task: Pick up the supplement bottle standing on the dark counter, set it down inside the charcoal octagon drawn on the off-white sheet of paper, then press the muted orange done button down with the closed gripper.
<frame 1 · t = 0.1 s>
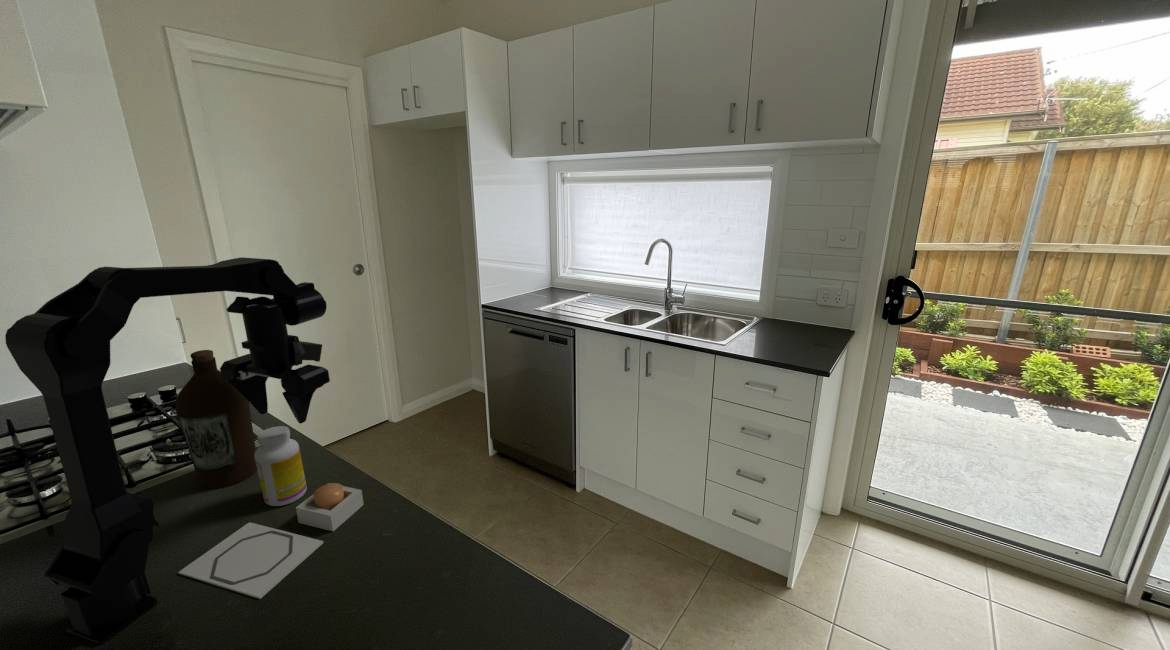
hand: (283, 417, 83), 15 cm above the countertop, tool pointing down, fingers open, 9 cm apart
supplement bottle: (286, 496, 85), on the countertop
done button: (329, 497, 80), point 3 cm above the countertop, slide at 0.0 cm
olive oil: (229, 475, 91), on the countertop
button housing: (332, 513, 81), on the countertop
paper sheet: (254, 557, 71), on the countertop
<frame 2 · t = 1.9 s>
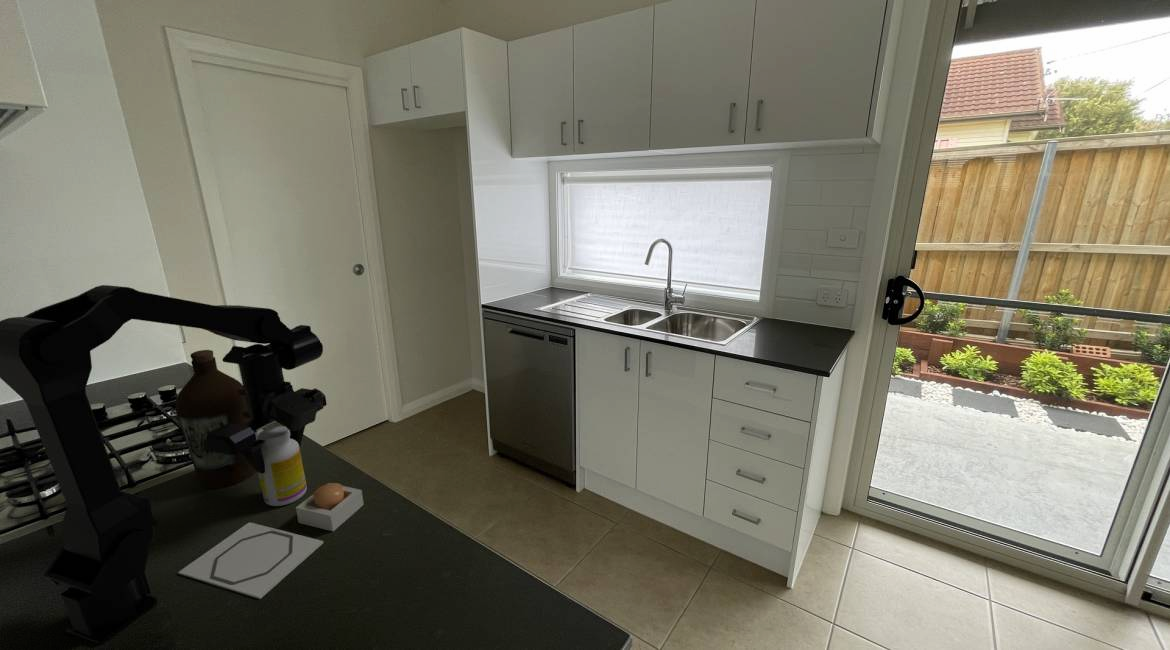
hand: (279, 461, 83), 7 cm above the countertop, tool pointing down, fingers closed on supplement bottle, 7 cm apart
supplement bottle: (286, 496, 85), on the countertop, touching gripper
everything else where it was.
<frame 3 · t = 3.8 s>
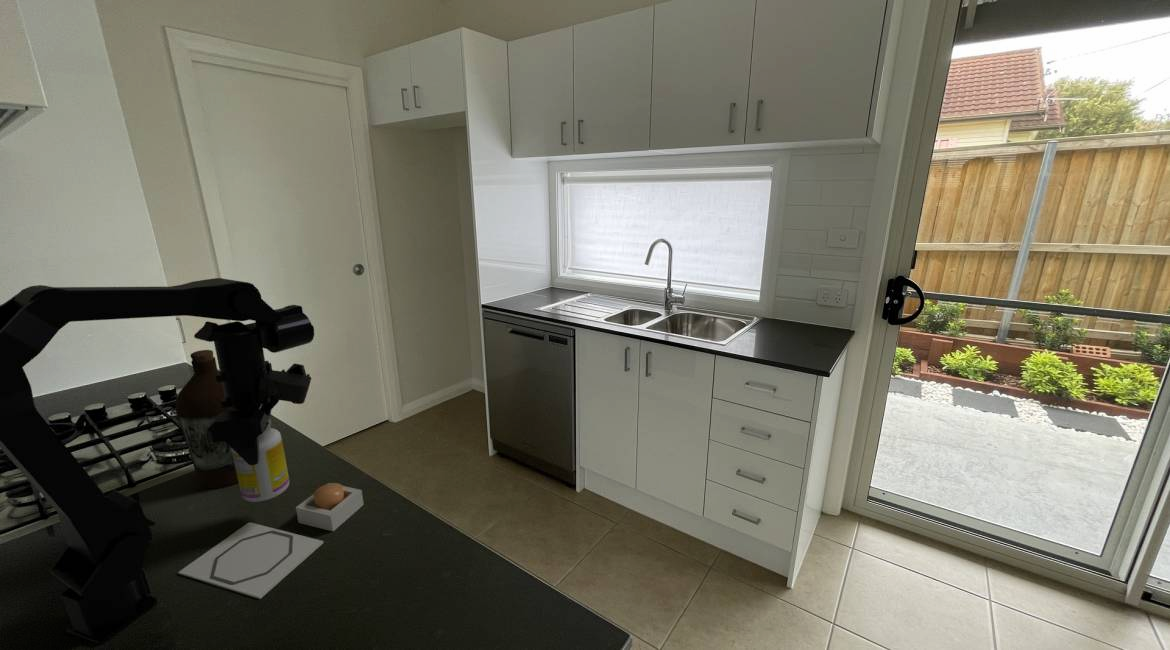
hand: (259, 453, 76), 13 cm above the countertop, tool pointing down, fingers closed on supplement bottle, 7 cm apart
supplement bottle: (266, 491, 78), point 5 cm above the countertop, touching gripper
everything else where it was.
when the fingers open (8 cm above the countertop, at t = 5.8 s): supplement bottle drops 1 cm, resting on paper sheet.
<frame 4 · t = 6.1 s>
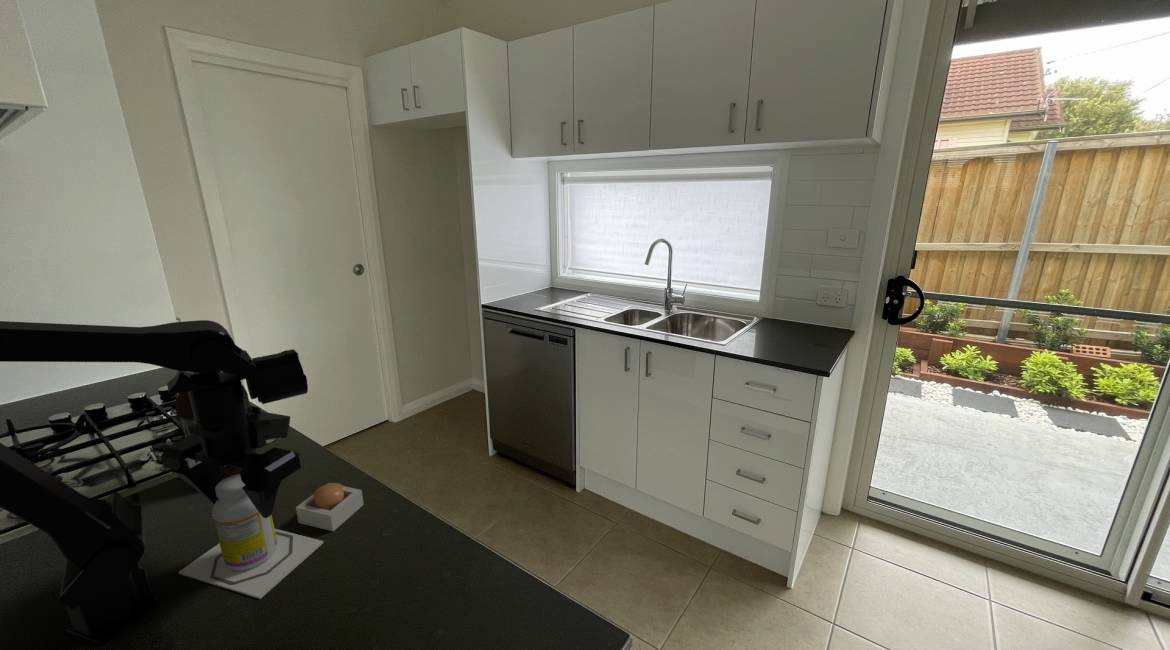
hand: (243, 510, 69), 8 cm above the countertop, tool pointing down, fingers open, 9 cm apart
supplement bottle: (252, 556, 71), resting on paper sheet
everything else where it was.
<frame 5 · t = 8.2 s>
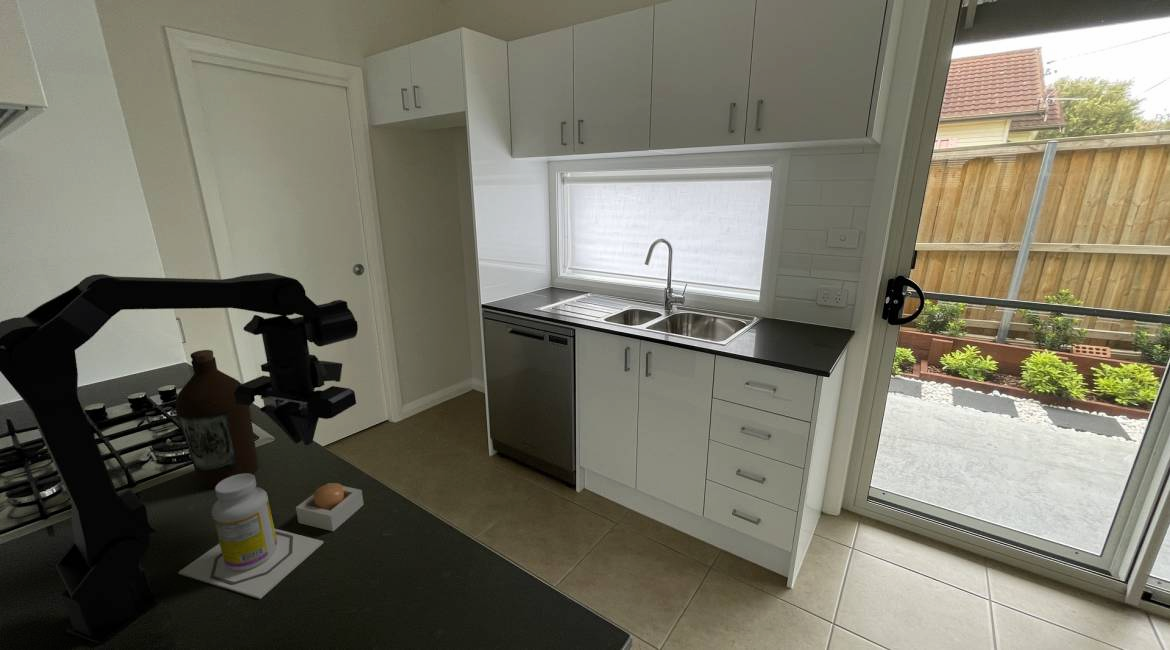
hand: (303, 443, 78), 13 cm above the countertop, tool pointing down, fingers closed
nothing on the countertop moved.
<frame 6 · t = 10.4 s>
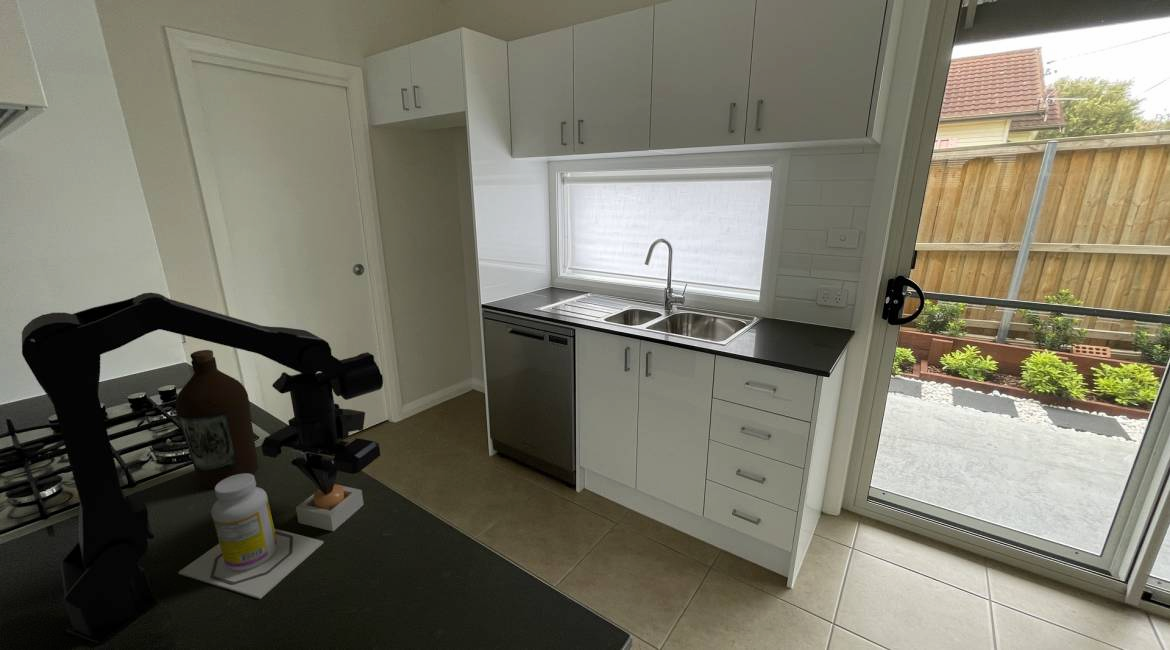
hand: (328, 492, 80), 4 cm above the countertop, tool pointing down, fingers closed, pressing on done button
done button: (329, 498, 80), point 3 cm above the countertop, slide at 0.3 cm, touching gripper
everything else where it was.
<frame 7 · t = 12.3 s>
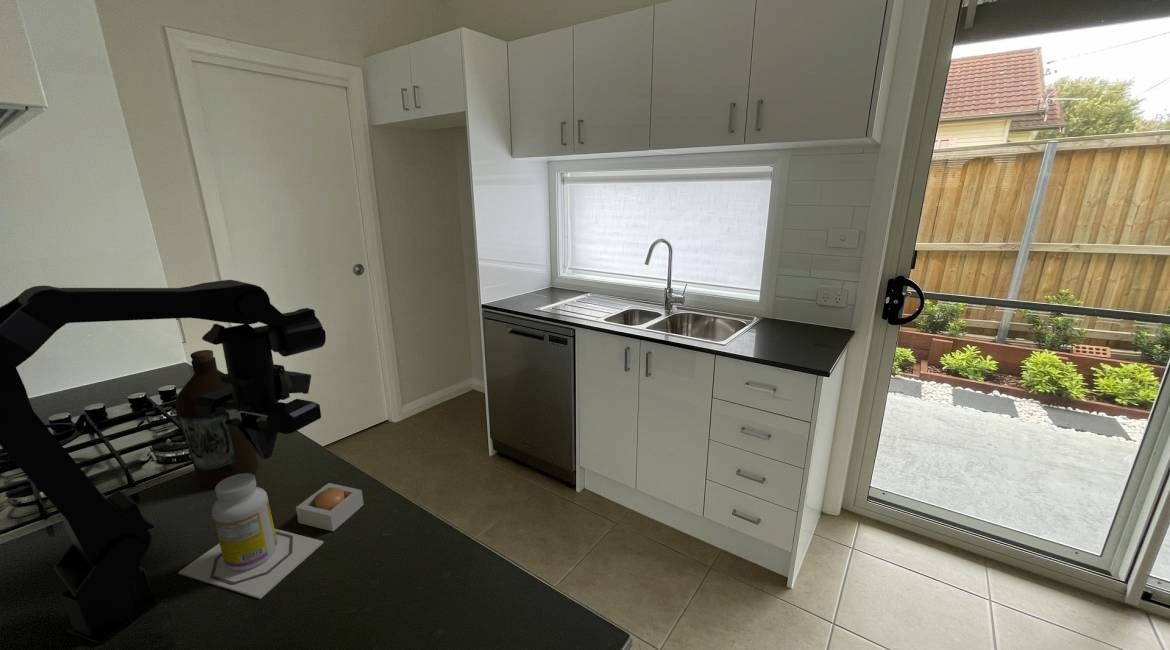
hand: (266, 457, 75), 13 cm above the countertop, tool pointing down, fingers closed
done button: (330, 502, 80), point 2 cm above the countertop, slide at 1.0 cm
everything else where it was.
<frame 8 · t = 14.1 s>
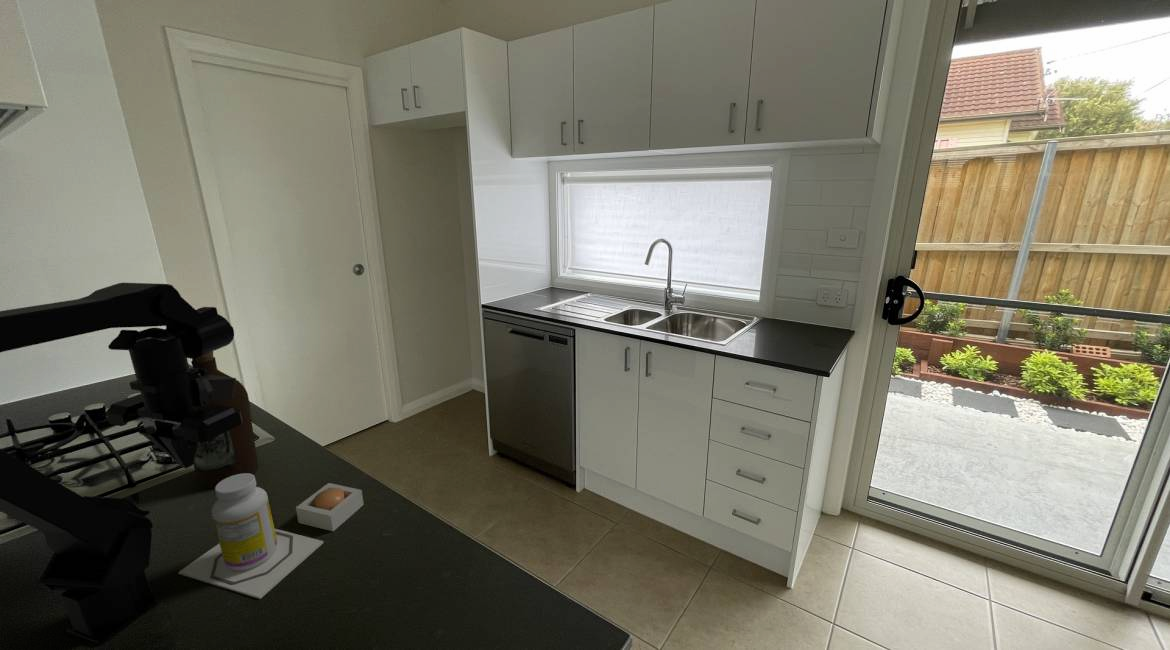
hand: (187, 466, 71), 13 cm above the countertop, tool pointing down, fingers closed
nothing on the countertop moved.
at the end: supplement bottle 0.3 cm off-centre on the paper sheet, point 0.1 cm above the paper sheet's base; supplement bottle tilted 0°; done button slide at 1.0 cm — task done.
